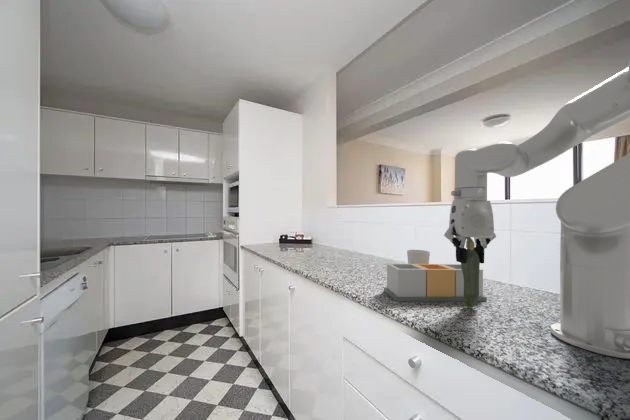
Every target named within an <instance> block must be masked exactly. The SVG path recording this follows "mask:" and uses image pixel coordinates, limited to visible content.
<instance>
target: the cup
mask: <svg viewBox="0 0 630 420" xmlns="http://www.w3.org/2000/svg"><path fill="white" fill-rule="evenodd" d="M406 253H407V264H430V256H431V251H428V250H424V249H423V250H422V249H407V251H406Z"/></svg>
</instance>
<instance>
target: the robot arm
mask: <svg viewBox="0 0 630 420" xmlns="http://www.w3.org/2000/svg"><path fill="white" fill-rule="evenodd" d="M628 62H629V63H628V66H627V67H626V68H625V69H623V70H621V71H619V72H618V73H616V74H615V75H613V76H611V77H609V78H608V79H606V80H604V81H603V82H601V83H599V84H598V85H595V86H594V87H592V88H591V89H589V90H588V91H586V92H583V93H581V95H578V96H577V97H575V98H574V99H572V100H570V101H568V102H566V103H565V104H564V105H563V106H562V107H560V109H559V110H558V111H557V112H556V113H555V114H554V116H553V118H551V120H550V121H549V123H548V124H547V125H546V126H544V127H543V128H542V129H541V130H540V131H538V132H537V133H536V134H534V135H533V136H531V137H530V138H528V139H527V140H525V141H523V142H522V143H519V144H518V145H517V144H516V143H513V142H509V141H502V142H501V141H500V142H498V143H497V142H496V143H494V144H490V145H486V146H484V147H480V148H472V149H471V148H470V149H465V150H462V151H459V152H458V153H456V155H455V157H454V190H452V191H451V192H450V195H451V196H453V197H454V199H453V200H452V202H451V206H450V213H449V221H448V228H447V230H446V231H445V232H444V234H443V236H444V237H445V238H446V239H447V240H449V241H450V242H451V243H452V245H453V247H454V248H455V259H456V262H458V263H460V264H461V263H466V249H467V248H466V247H465V246H466V241H467V239H466V237H471V238H473V242H474V244H475V247H474V250H475V251H476V252H477V254H478V256H479V261H480V264H485V249H487V247H488V245H489V244H490V243H491V241H493V240H494V239H495V238H497V235H496V234H495V224H494V223H495V221H494V213H493V206H492V204H491V203H492V202H491V200H488V174H489V173H490V174H497V175H499V176H502V177H504V178H512V177H513V178H514V177H517V176H520V175H523V174H525V173H527V172H530V171H532V170H533V169H535V168H537V167H539V166H542V165H544V164H546V163H548V162H550V161H552V160H554V159H555V158H557V157H559V156H561V155H562V154H565V152H567V151H569V150H571V149H573V148H574V147H576V146H579V144H582V143H583V142H584V141H586V140H587V139H590V138H591V137H593V136H594V135H597V134H599V133H600V132H602V131H605V130H606V129H608V128H610V127H613V126H615V125H616V124H619V123H620V122H622V121H624V120H626V119H629V118H630V61H628ZM555 212H556V217H557V218H558V220H560V244H559V246H560V248H559V249H560V251H559V255H560V258H559V259H560V260H559V261H560V262H559V280H560V281H559V282H560V283H559V295H560V296H559V305H560V306H559V307H560V308H559V321H560V322H557V323H552V324H551V325H550V329H549V330H550V332H551V334H552V335H553V336H555V337H556V338H557V339H559V340H561V341H563V342H565V343H567V344H569V345H572V346H575V347H576V348H577V347H578V348H580V349H582V350H585V351H589V352H592V353H596V354H600V355H604V356H607V357H613V358H619V359H627V360H630V152H629V153H628V154H625V155H624V156H622V157H621V158H619V159H617V160H616V161H613V162H612V163H610V164H609V165H607V166H605V167H603V168H602V169H600V170H598V171H596V172H595V173H593V174H591V175H590V176H588V177H586V178H584V179H582V180H581V181H578V183H576V184H574V185H573V186H571V187H569V188H568V189H566V190H565V191H564V192H563V193H561V195H560V196H559V197H558V198H557V201H556V204H555Z"/></svg>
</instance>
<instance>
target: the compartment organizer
mask: <svg viewBox="0 0 630 420" xmlns="http://www.w3.org/2000/svg"><path fill="white" fill-rule="evenodd" d="M383 292H384V293H385V294H387V295H388V296H389V297H390V298H391V299H393V301H395V302H400V303H401V302H402V303H406V302H408V303H409V302H413V303H414V302H415V303H416V302H420V303H422V302H424V303H426V302H429V303H431V302H465V301H464V277H463V272H462V268H461V263H459V264H457V263H455V264H454V263H429V264H408V263H386V287H383ZM487 301H488V297H487V296H485V295H484V269H481V268H479V298H478V302H487Z"/></svg>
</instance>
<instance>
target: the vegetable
mask: <svg viewBox="0 0 630 420" xmlns="http://www.w3.org/2000/svg"><path fill="white" fill-rule="evenodd" d="M465 246H466V247H465V248H466V263H461V262H460V264H461V268H462V272H463V277H464V301H463V302H464V303H465V307H466V308H468V309H469V310H470V309H472V308H473V307H475V306H476V305H477V304H478V302H479V301H478V298H479V269H480V264H481V263H480V261H479V256H478V254H477V252H476V251H475V250H474V247H476V246H475V241H474V239H472V237H466V241H465Z"/></svg>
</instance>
